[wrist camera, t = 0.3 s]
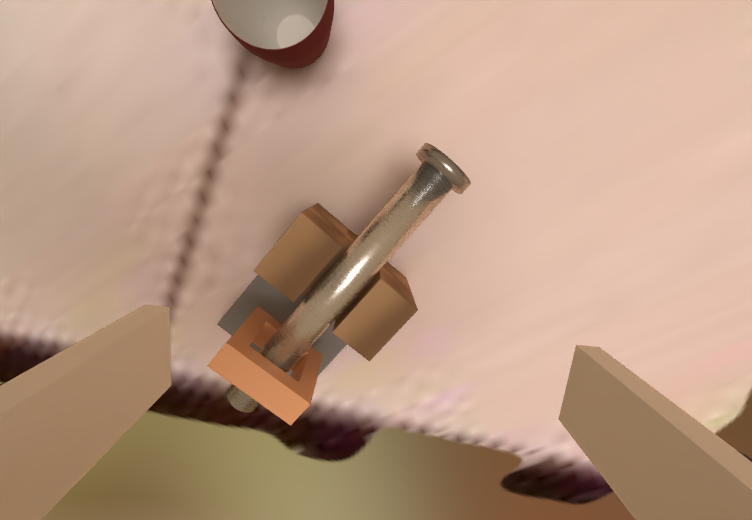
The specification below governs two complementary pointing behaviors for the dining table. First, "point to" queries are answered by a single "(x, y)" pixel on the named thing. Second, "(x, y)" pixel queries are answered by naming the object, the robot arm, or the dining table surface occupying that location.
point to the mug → (279, 28)
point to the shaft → (360, 263)
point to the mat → (277, 317)
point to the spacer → (267, 369)
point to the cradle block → (316, 257)
